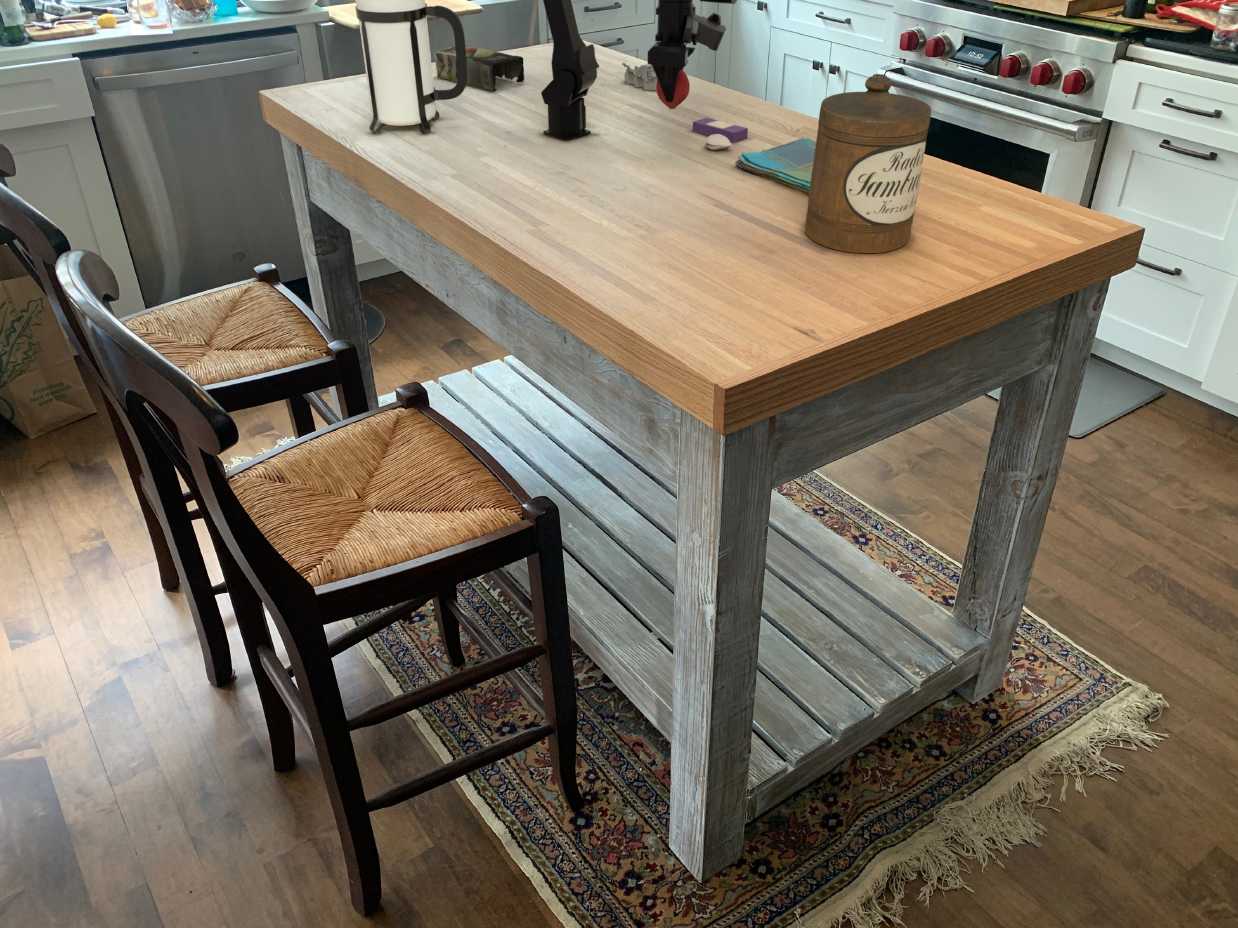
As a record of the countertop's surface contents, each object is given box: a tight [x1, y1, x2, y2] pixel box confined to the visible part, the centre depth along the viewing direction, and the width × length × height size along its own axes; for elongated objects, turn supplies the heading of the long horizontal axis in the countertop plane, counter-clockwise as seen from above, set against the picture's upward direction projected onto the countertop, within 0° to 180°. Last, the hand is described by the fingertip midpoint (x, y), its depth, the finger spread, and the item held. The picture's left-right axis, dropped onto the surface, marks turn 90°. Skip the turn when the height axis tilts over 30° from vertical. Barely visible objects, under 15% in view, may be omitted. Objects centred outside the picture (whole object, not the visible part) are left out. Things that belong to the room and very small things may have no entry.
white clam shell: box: [705, 134, 733, 151], centre depth 174 cm, size 4×5×2 cm
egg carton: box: [621, 62, 658, 91], centre depth 212 cm, size 11×8×4 cm
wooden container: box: [804, 73, 932, 254], centre depth 136 cm, size 15×15×22 cm
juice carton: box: [434, 44, 525, 92], centre depth 214 cm, size 20×10×6 cm, turn 48°
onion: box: [655, 69, 691, 110], centre depth 170 cm, size 6×6×8 cm
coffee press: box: [354, 0, 467, 135], centre depth 179 cm, size 17×16×30 cm
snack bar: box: [691, 117, 749, 144], centre depth 182 cm, size 10×4×2 cm, turn 44°
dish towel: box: [734, 137, 816, 194], centre depth 162 cm, size 17×23×2 cm
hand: (672, 97), depth 171 cm, fingers closed on onion, 6 cm apart
